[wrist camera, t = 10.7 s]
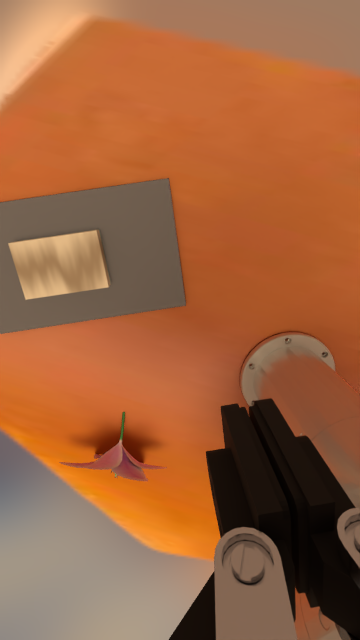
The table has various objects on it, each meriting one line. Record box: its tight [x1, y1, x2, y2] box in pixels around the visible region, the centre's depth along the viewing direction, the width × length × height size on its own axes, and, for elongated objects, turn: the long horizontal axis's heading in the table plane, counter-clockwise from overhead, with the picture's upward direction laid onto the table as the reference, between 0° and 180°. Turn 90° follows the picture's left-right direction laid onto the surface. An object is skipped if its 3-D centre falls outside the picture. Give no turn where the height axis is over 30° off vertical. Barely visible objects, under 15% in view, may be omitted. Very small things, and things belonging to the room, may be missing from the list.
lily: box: [59, 412, 167, 481], centre depth 42 cm, size 12×12×10 cm
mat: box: [0, 178, 186, 334], centre depth 36 cm, size 14×22×1 cm, turn 98°
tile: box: [8, 229, 111, 300], centre depth 35 cm, size 6×2×9 cm
